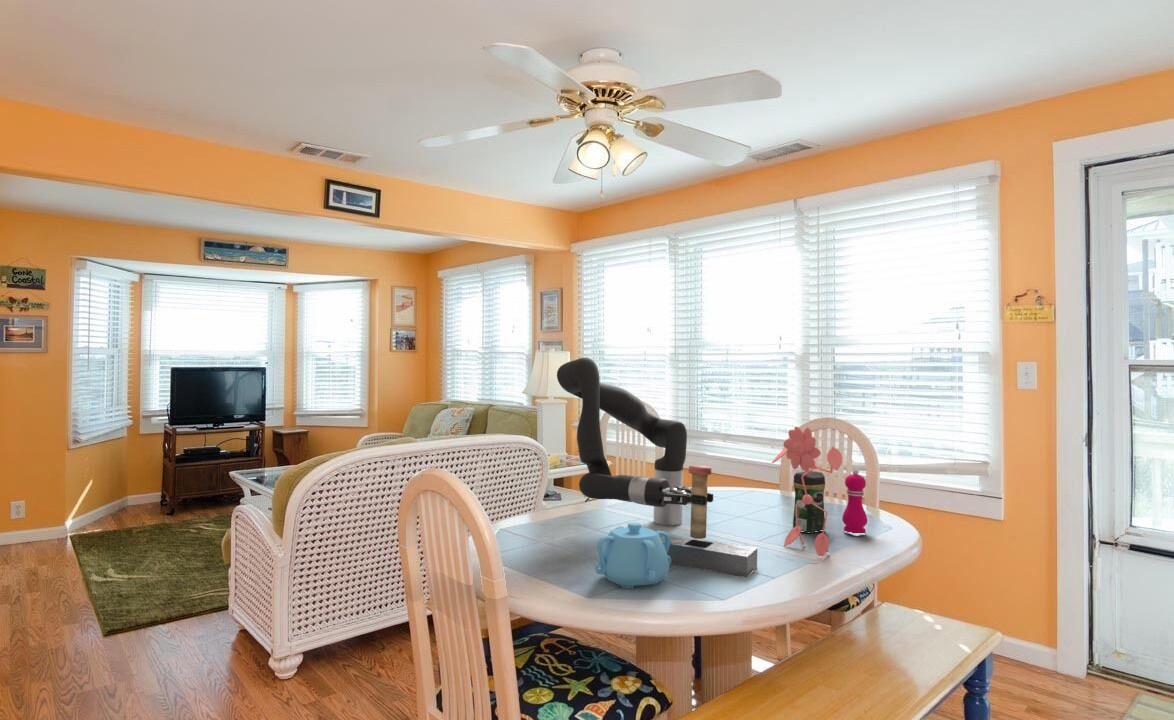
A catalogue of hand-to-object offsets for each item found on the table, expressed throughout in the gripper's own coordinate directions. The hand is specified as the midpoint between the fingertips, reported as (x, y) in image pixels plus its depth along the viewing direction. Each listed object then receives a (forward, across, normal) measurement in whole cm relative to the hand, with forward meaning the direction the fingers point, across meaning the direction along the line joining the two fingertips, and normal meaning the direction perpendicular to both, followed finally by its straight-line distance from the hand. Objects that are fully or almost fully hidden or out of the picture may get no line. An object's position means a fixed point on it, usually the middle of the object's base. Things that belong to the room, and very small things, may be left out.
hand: (709, 499), depth 169 cm
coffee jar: (+14, +52, +16) cm, 57 cm away
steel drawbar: (-3, 0, +17) cm, 17 cm away
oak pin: (-3, 0, +10) cm, 10 cm away
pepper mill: (+27, +56, +16) cm, 65 cm away
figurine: (+17, +24, +17) cm, 34 cm away
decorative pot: (-11, -22, +17) cm, 30 cm away
